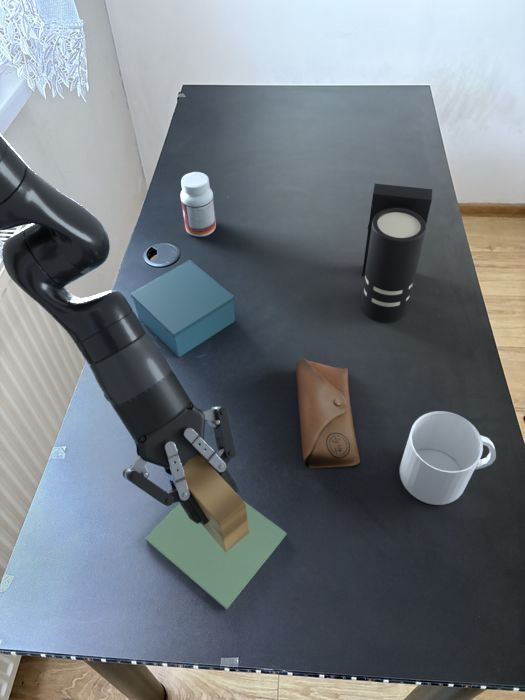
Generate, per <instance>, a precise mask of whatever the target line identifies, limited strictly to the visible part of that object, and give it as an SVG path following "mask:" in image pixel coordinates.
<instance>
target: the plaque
mask: <svg viewBox="0 0 525 700" xmlns="http://www.w3.org/2000/svg"><path fill="white" fill-rule="evenodd" d="M182 468H183V471H184V474H185V480H186V483H187V486H188V489H189V492H190V495H192V496H194V498H195V500H196V501H197V503H198V504H199V506H200V507H201V509H202V511H203V512H204V514H205V515H206V517H207V519H208V520H209V522H208V523H207V524H205V525H203V524H202V525H203V527H204V528H205V529H206V530H207V531H208V532H209V534H210V535H211V536H212V537H213V538H214V540H215V541H216V542H217V543H218V544H219V545H220V547H221V548H222V549H223V550H224V551H225V552H227V551H228V550H230V549H231V548H232V547H233V546H234V545H235V544H237V543H238V542H239V541H240V540H241V539H243V538H244V537H245V536H246V535H247V534H248V533H249V528H248V520H247V511H246V503H247V502H246V501H244V500H243V499H242V498H241V496H240V495H239V494H238V492H237V493H236V492H235V491H234V490H233V489H232V488H231V487H230V486H229V485H228V484H227V483H226V482H225V481H224V479H223V478H222V477H221V476H220V475H219V474H218V473H217V472H216V471H215V470H214V469H213V468H212V467H211V465H210V464H209V463H208V462H207V461H206V460H204V459H202V458H201V457H199V456H198V455H197V456H196V457H194V458H191V459H189V460H188V462H187V463H186V464H185V465H184V466H183V467H182ZM245 502H246V503H245Z"/></svg>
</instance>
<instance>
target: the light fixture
mask: <svg viewBox="0 0 525 700" xmlns="http://www.w3.org/2000/svg"><path fill="white" fill-rule="evenodd" d="M432 201H433V189H432V188H425V187H414V186H413V187H412V186H406V185H405V186H403V185H392V184H384V183H374V184H373V191H372V198H371V205H370V213H369V221H368V224H367V226H366V228H367V235H366V242H365V249H364V258H363V265H362V272H361V276H362V277H363V286H362V293H361V299H360V308H361V311H362V312H363V313H364V315H365V316H366V317H368V318H369V319H371V320H373V321H375V322H379V323H394V322H397V321H400V320H401V319H403V318H404V317H406V315H407V313H408V309H409V304H410V301H411V296H412V293H413V288H414V283H415V278H416V275H417V270H418V265H419V261H420V258H421V257H420V256H421V252H422V248H423V244H424V240H425V235H426V230H427V223H428V218H429V214H430V209H431V206H432Z"/></svg>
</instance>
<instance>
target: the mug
mask: <svg viewBox="0 0 525 700" xmlns="http://www.w3.org/2000/svg"><path fill="white" fill-rule="evenodd" d="M484 446H486V447H487V449H488V450H489V452H488V454H487V456H486V457H484V458H482V456H483V452H484ZM495 460H497V451H496V448H495V444H494V443H493V441H492V440H491V439H490V438H489V437H488V436H484V435H481V434H480V432H479V430H478V429H477V428H476V426H475V425H474V424H473V423H471V422H470V421H469V420H468V419H467V418H465V417H463V416H461V415H459V414H457V413H454V412H451V411H445V410H435V411H430V412H427V413H424V414H422V415H421V416H419V417H418V418H417V419H416V420H415V421H414V422H413V424H412V426H411V429H410V431H409V435H408V437H407V440H406V445H405V448H404V451H403V453H402V457H401V461H400V464H399V477H400V481H401V483H402V485H403V486H404V488H405V490H406V491H407V492H408V493H409V494H410V495H412V496H413V497H414V498H415V499H416V500H419V501H420V502H423V503H425V504H429V505H434V506H443V505H448V504H451V503H453V502H454V501H456V500H458V499H459V498H460V497H461V496H462V495H463V494H464V492H465V489H466V487H467V485H468V483H469V481H470V480H471V477H472V476H473V473H474V472H475V470H480V469H484V468H486V467H489V466H491V465H493V463H494V462H495Z"/></svg>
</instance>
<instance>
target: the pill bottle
mask: <svg viewBox="0 0 525 700" xmlns="http://www.w3.org/2000/svg"><path fill="white" fill-rule="evenodd" d="M180 180H181V181H180V183H181V189H182V190H181V191H180V201H181V202H180V203H181V208H182V213H183V214H182V215H183V221H184V228H185V230H186V232H187V233H188V235H191V236H193V237H199V238H200V237H202V238H203V237H207V236H209V235H211V234H212V233H213V232H214V231H215V230H216V227H217V221H216V212H215V203H214V193H213V190H212V188H211V187H210V178H209V176H208V175H207V174H205V173H203V172H201V171H192V172H188V173H186V174H184V175H183V176H182V178H181V179H180Z"/></svg>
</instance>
